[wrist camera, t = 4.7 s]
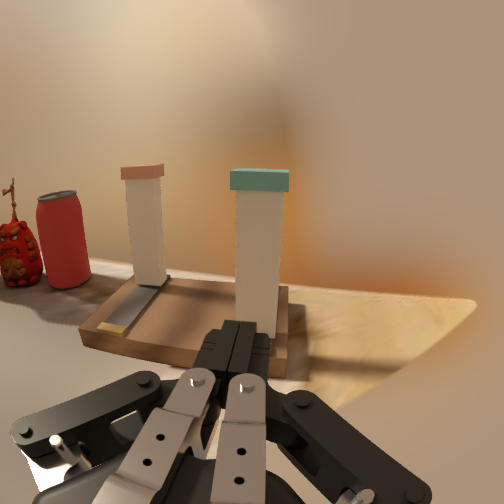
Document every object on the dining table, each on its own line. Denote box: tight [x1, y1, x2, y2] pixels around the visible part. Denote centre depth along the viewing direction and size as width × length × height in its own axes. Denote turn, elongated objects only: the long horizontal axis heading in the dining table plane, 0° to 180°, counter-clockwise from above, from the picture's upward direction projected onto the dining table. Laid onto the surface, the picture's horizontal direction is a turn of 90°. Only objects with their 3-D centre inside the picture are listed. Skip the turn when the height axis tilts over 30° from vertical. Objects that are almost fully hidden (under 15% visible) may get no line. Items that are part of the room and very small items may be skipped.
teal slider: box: [230, 168, 289, 339], centre depth 21 cm, size 4×2×12 cm, turn 83°
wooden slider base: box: [78, 275, 288, 378], centre depth 27 cm, size 18×12×2 cm, turn 84°
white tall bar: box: [121, 164, 167, 286], centre depth 29 cm, size 4×2×12 cm, turn 84°
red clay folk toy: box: [0, 178, 43, 287], centre depth 32 cm, size 8×7×15 cm
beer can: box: [36, 190, 91, 289], centre depth 33 cm, size 7×7×12 cm
